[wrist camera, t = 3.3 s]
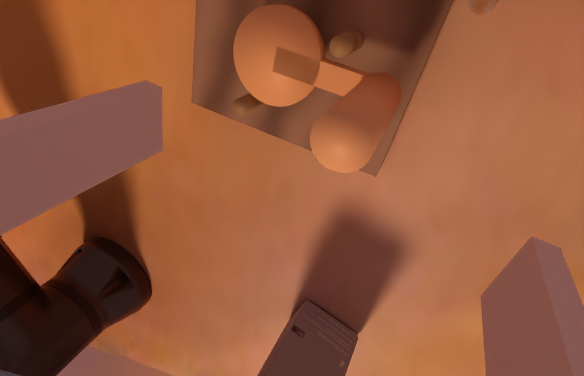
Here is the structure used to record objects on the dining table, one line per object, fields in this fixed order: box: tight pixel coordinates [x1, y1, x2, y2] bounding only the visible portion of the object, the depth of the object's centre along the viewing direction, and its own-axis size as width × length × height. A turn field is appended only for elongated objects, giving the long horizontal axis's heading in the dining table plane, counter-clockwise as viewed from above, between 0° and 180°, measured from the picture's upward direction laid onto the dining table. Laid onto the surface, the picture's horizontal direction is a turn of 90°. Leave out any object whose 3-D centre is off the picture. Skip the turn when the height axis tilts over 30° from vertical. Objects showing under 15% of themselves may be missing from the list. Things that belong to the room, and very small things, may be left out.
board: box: [192, 0, 453, 177], centre depth 27 cm, size 20×16×6 cm
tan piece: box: [233, 4, 402, 173], centre depth 21 cm, size 13×7×11 cm, turn 77°
